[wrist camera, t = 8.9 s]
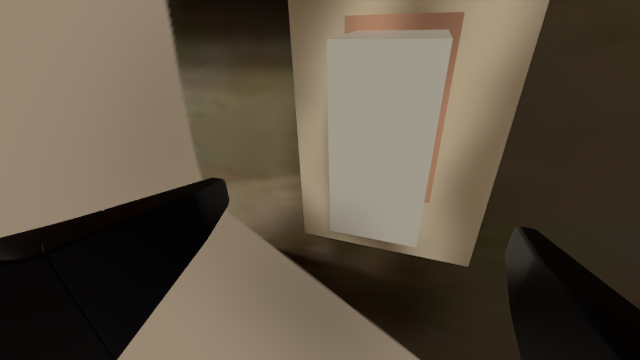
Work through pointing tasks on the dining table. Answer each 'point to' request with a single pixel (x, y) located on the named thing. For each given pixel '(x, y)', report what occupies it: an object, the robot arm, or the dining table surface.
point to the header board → (455, 115)
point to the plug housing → (383, 128)
